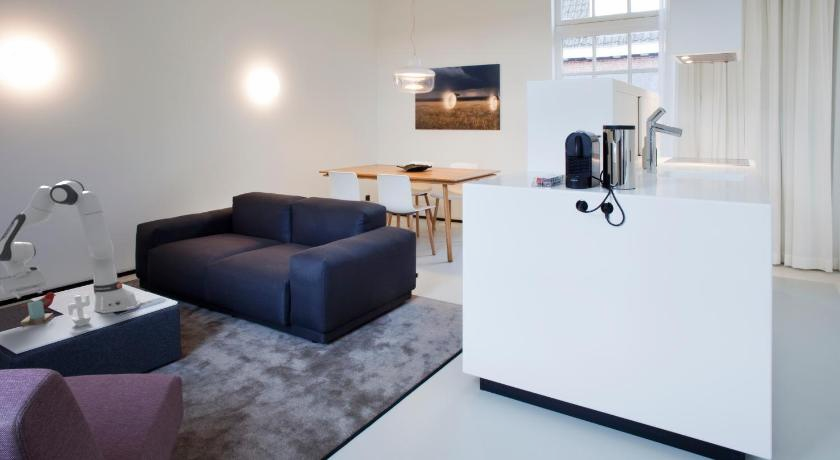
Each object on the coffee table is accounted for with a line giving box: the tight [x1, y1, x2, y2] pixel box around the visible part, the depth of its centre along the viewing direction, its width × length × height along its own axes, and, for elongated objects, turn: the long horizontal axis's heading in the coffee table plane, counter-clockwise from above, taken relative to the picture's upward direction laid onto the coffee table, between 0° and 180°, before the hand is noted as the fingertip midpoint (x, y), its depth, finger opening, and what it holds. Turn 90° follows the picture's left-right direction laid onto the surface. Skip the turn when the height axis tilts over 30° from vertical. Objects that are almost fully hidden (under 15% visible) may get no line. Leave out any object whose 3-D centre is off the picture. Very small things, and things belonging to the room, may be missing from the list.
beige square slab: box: [20, 312, 55, 327], centre depth 287 cm, size 11×11×2 cm
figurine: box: [67, 294, 92, 328], centre depth 279 cm, size 7×9×15 cm
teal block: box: [26, 299, 46, 319], centre depth 287 cm, size 5×5×8 cm
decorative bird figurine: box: [18, 291, 56, 313], centre depth 300 cm, size 3×18×10 cm, turn 136°
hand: (30, 295), depth 288 cm, fingers open, 8 cm apart
